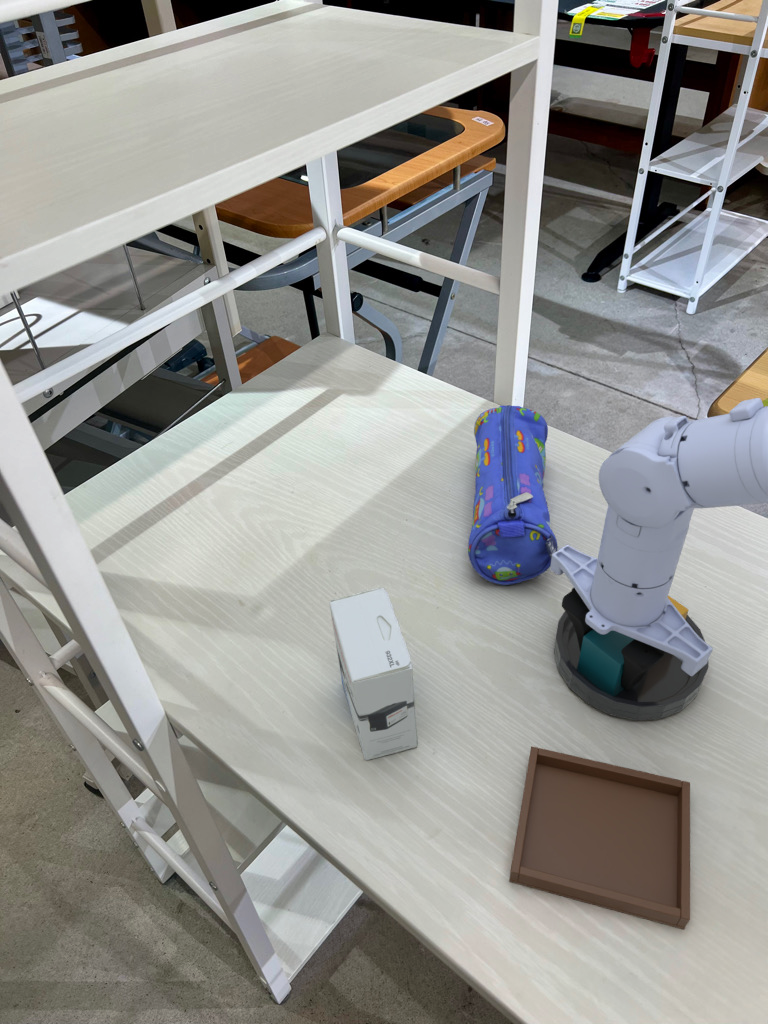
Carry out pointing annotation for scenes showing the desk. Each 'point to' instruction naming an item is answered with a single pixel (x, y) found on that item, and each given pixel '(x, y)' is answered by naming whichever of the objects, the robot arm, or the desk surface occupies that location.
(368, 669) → the ink box
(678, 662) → the pan
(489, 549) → the pencil case
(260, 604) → the desk surface
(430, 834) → the desk surface
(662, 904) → the tray
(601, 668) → the teal block
